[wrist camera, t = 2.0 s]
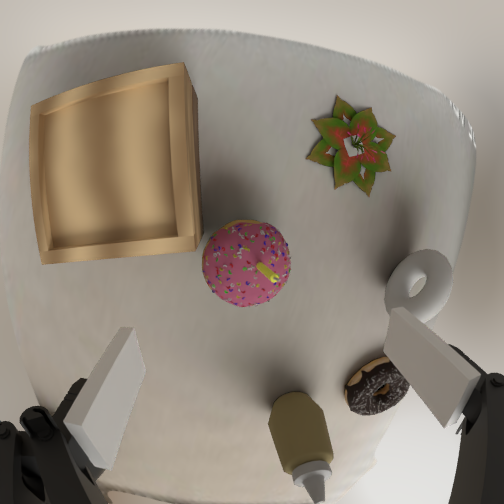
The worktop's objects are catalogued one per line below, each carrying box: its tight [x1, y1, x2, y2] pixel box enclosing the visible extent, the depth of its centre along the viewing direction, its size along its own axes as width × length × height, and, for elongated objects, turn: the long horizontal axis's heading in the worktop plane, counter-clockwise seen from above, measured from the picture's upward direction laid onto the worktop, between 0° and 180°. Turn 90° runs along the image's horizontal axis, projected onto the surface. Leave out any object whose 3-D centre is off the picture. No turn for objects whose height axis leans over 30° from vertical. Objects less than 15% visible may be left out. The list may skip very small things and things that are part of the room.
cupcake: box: [202, 220, 291, 307], centre depth 25 cm, size 9×8×12 cm
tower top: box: [29, 62, 201, 265], centre depth 21 cm, size 15×15×5 cm
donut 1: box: [345, 357, 410, 415], centre depth 36 cm, size 11×12×4 cm
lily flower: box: [306, 96, 396, 197], centre depth 27 cm, size 12×12×5 cm
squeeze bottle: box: [268, 392, 333, 504], centre depth 29 cm, size 8×8×18 cm
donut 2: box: [384, 249, 453, 323], centre depth 29 cm, size 10×4×10 cm, turn 145°
